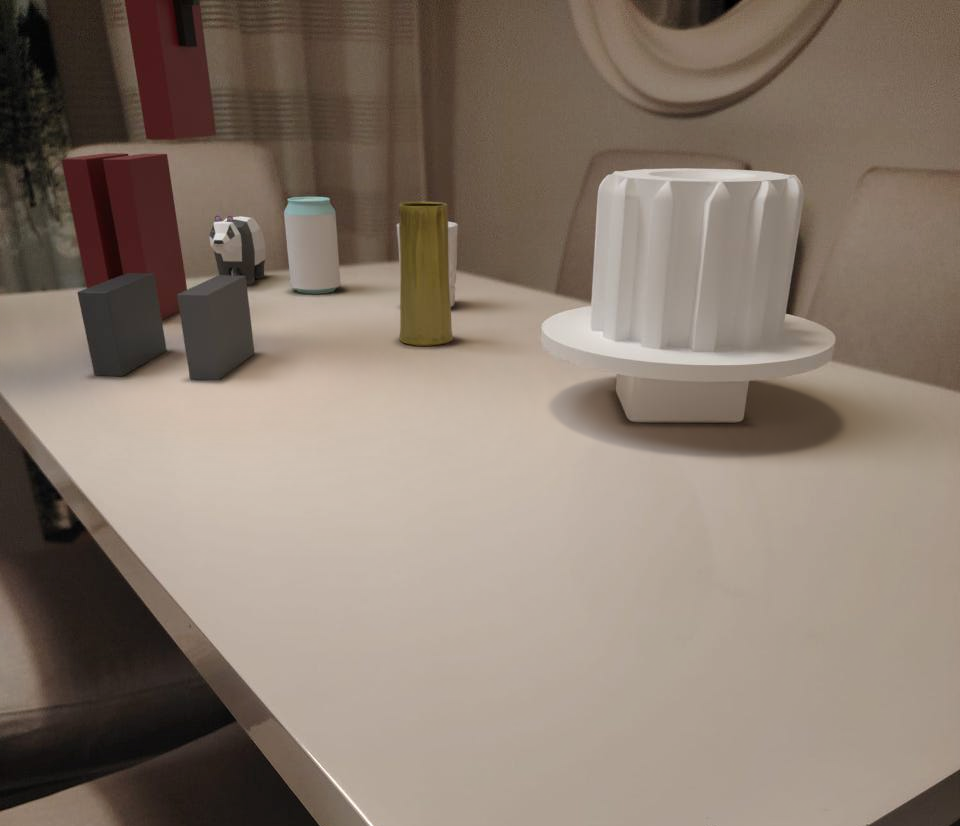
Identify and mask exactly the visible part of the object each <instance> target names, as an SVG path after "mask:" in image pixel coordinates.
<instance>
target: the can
mask: <svg viewBox="0 0 960 826" xmlns="http://www.w3.org/2000/svg"><path fill="white" fill-rule="evenodd" d="M336 215H337V213H336V210H335V208H334V206H333V205H332V204H331V199H330V197H326V196H297V197H289V198H287V205H286V207H285V209H284V211H283V220H284V229H285V239H286V251H287V260H288V261H287V263H288V270H289V271H288V272H289V281H290V287H291V288H292V289H294V290H296V292H298V293H300V294H309V295H311V294H313V295H316V294H318V295H319V294H327V293H328V294H329V293H333V292H335V291H336V289H337V288H339V287H340V286H341V272H340V257H339V244H338V243H339V242H338V228H337V227H338V226H337V216H336Z"/></svg>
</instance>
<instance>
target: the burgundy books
mask: <svg viewBox="0 0 960 826" xmlns="http://www.w3.org/2000/svg"><path fill="white" fill-rule="evenodd" d="M60 161H61V165H62V170H63V176H64V180H65V185H66V190H67V195H68V200H69V206H70V210H71V216H72V220H73V225H74V230H75V235H76V240H77V245H78V250H79V255H80V260H81V261H80V262H81V265H82V271H83V277H84V281H85V285H86V289H87V288H89V287H92V286H95V285H97V284H100V283H103V282H105V281H108V280H111V279H113V278H116V277H119V276H121V275H124V274H127V273H146V274H154V276H155V282H156V288H157V294H158V300H159V306H160V312H161V319H162V321H163V320H165V319H167V318H169V317H171V316H174V315H175V314H177V313H180V311H179V304H178V298H177V294H179V293H181V292H184V291H186V290H188V286H187V279H186V273H185V272H186V271H185V266H184V265H185V264H184V259H183V253H182V246H181V238H180V232H179V231H180V230H179V226H178V225H179V224H178V220H177V219H178V218H177V211H176V206H175V199H174V192H173V186H172V185H173V184H172V179H171V178H172V177H171V172H170V164H169V159H168V154H167V153H139V154H132V155H130V154H129V153H122V152H121V153H120V152H119V153H116V152H115V153H113V152H111V153H109V152H108V153H107V152H105V153H98V154H89V155H81V156H73V157H64V158H63V157H62V158H61V159H60Z"/></svg>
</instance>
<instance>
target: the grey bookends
mask: <svg viewBox="0 0 960 826" xmlns="http://www.w3.org/2000/svg"><path fill="white" fill-rule="evenodd" d="M248 295H249V293H248V285H247V284H246V276H234V275H233V274H232V275H219V274H218V275H216V276H214V277H212V278H210V279H207V280H205V281H203V282H201V283H198V284H196V285H194V286H192V287H190V288H187V290H186V291H184V292H181V293H179V294H177V298H178V304H179V317H180V324H181V329H182V337H183V342H184V348H185V349H184V351H185V356H186V362H187V369H188V375H189V379H190V380H212V381H213V380H215V381H217V380H218V381H219V380H221V379H222V378H223V377H224V376H226V375H227V374H228V373H230V372H231V371H233V370H234V369H235V368H237V367H238V366H239V365H241V364H242V363H243V362H245V361H246V360H247V359H249V358H250V357H251V356H253V355H254V354H255V353H256V352H255V344H254V336H253V327H252V319H251V310H250V301H249V296H248ZM77 296H78V303H79V309H80V312H81V317H82V322H83V326H84V331H85V336H86V342H87V347H88V351H89V356H90V361H91V365H92V366H91V367H92V370H93V371H92V372H93V375H94V376H99V377H100V376H101V377H107V376H108V377H124V376H126V375H127V374H129V373H130V372H132V371H134V370H135V369H138V368H140V367H141V366H143V365H144V364H146V363H148V362H149V361H151V360H153V359H154V358H156V357H158V356H160V355H161V354H163V353H165V352H167V343H166V337H165V331H164V325H163V320H162V319H161V312H160V306H159V300H158V294H157V288H156V282H155V276H154V274H146V273H127V274H124V275H121V276H119V277H116V278H113V279H111V280H108V281H105V282H103V283H100V284H97V285H95V286H92V287H89V288H87V287H86V288H84V289H82V290H78V291H77Z"/></svg>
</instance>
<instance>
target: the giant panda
mask: <svg viewBox="0 0 960 826" xmlns="http://www.w3.org/2000/svg"><path fill="white" fill-rule="evenodd" d="M208 237H209V244H210V248H211V249H212V250H213V253H214V254H213V255H214V257H215V262H216V266H217V271H218V275H234V276H246V284H247V286H252V285H254V284H255V279H263V278H264V277H265V264H266V263H265V262H266V250H267V249H266V247H267V246H266V242H265V238H264V233H263V231H262V229H261V227H260V225H259V224H258V223H257V221H256V219H255V218H253V217H249V216H243V215H240V216H239V215H238V216H231V215H228V216H227V217H226V218H225V219H223V220H222V217H221V216H219V215H215V216H214V221H213V224H212V227H211V229H210V233H209V234H208Z"/></svg>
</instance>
